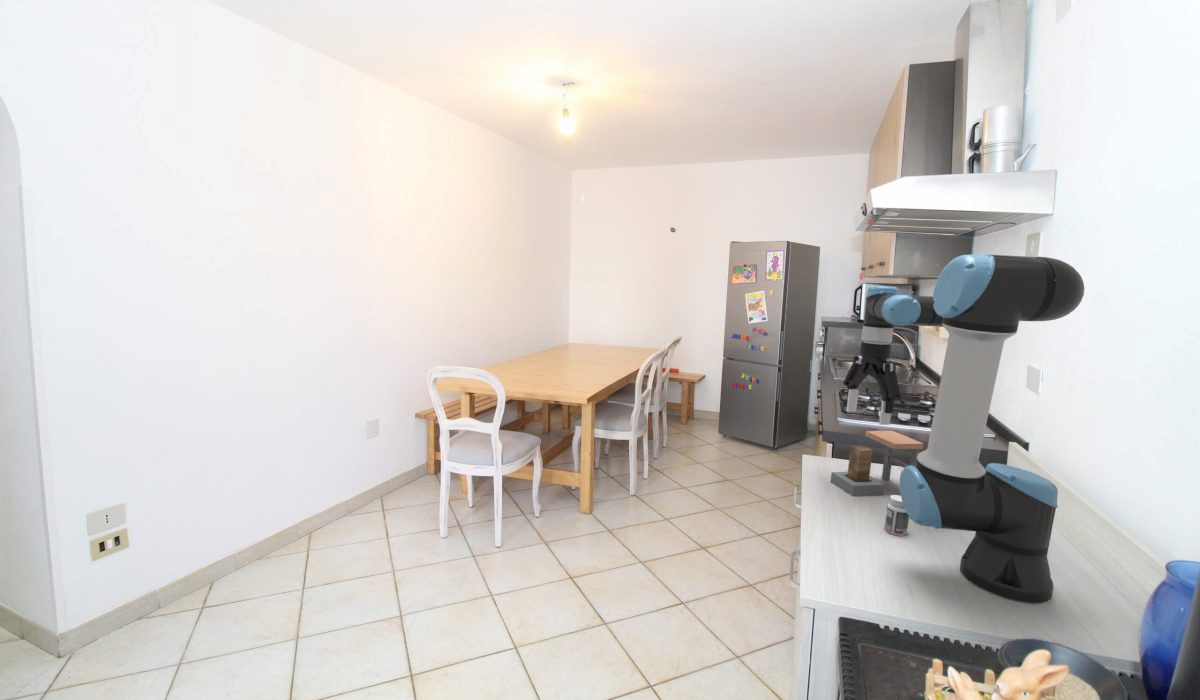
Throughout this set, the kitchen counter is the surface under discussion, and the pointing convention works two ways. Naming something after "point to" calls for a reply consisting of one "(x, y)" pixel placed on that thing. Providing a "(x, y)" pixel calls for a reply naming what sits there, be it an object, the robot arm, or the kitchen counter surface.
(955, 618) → the kitchen counter surface
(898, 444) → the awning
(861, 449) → the peg
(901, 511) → the pill bottle
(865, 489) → the socket block
